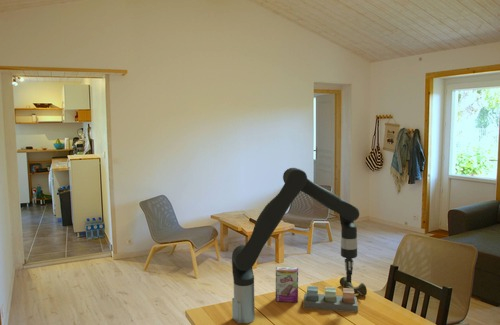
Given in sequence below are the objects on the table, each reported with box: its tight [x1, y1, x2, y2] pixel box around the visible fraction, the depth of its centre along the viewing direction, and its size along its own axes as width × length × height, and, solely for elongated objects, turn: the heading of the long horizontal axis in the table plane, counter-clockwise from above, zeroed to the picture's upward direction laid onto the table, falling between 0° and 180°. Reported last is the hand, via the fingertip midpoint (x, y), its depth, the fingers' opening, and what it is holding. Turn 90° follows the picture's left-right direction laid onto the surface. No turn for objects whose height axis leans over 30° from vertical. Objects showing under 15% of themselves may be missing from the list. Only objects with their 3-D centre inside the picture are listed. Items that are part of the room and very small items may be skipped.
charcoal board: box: [303, 292, 359, 313], centre depth 193 cm, size 10×25×3 cm, turn 79°
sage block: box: [324, 286, 337, 302], centre depth 193 cm, size 5×5×5 cm
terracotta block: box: [342, 287, 355, 303], centre depth 191 cm, size 5×5×5 cm
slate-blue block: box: [306, 285, 319, 301], centre depth 195 cm, size 5×5×5 cm
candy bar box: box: [275, 266, 299, 303], centre depth 199 cm, size 11×5×16 cm, turn 84°
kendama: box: [339, 276, 368, 297], centre depth 207 cm, size 6×10×20 cm
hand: (348, 281), depth 191 cm, fingers closed
